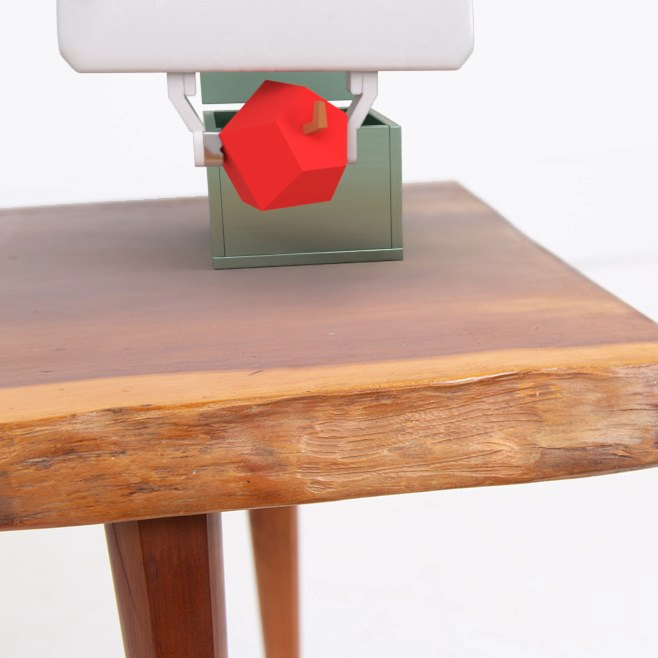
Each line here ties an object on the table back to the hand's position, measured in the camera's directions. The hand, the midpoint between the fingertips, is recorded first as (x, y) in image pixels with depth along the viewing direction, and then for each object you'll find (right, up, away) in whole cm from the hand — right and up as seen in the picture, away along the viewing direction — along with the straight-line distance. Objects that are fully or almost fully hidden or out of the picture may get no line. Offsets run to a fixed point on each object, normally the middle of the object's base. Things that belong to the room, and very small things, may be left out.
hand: (274, 164), depth 58 cm
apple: (+1, -2, +1) cm, 2 cm away
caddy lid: (-2, +18, +25) cm, 31 cm away
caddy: (-1, -1, +23) cm, 23 cm away
